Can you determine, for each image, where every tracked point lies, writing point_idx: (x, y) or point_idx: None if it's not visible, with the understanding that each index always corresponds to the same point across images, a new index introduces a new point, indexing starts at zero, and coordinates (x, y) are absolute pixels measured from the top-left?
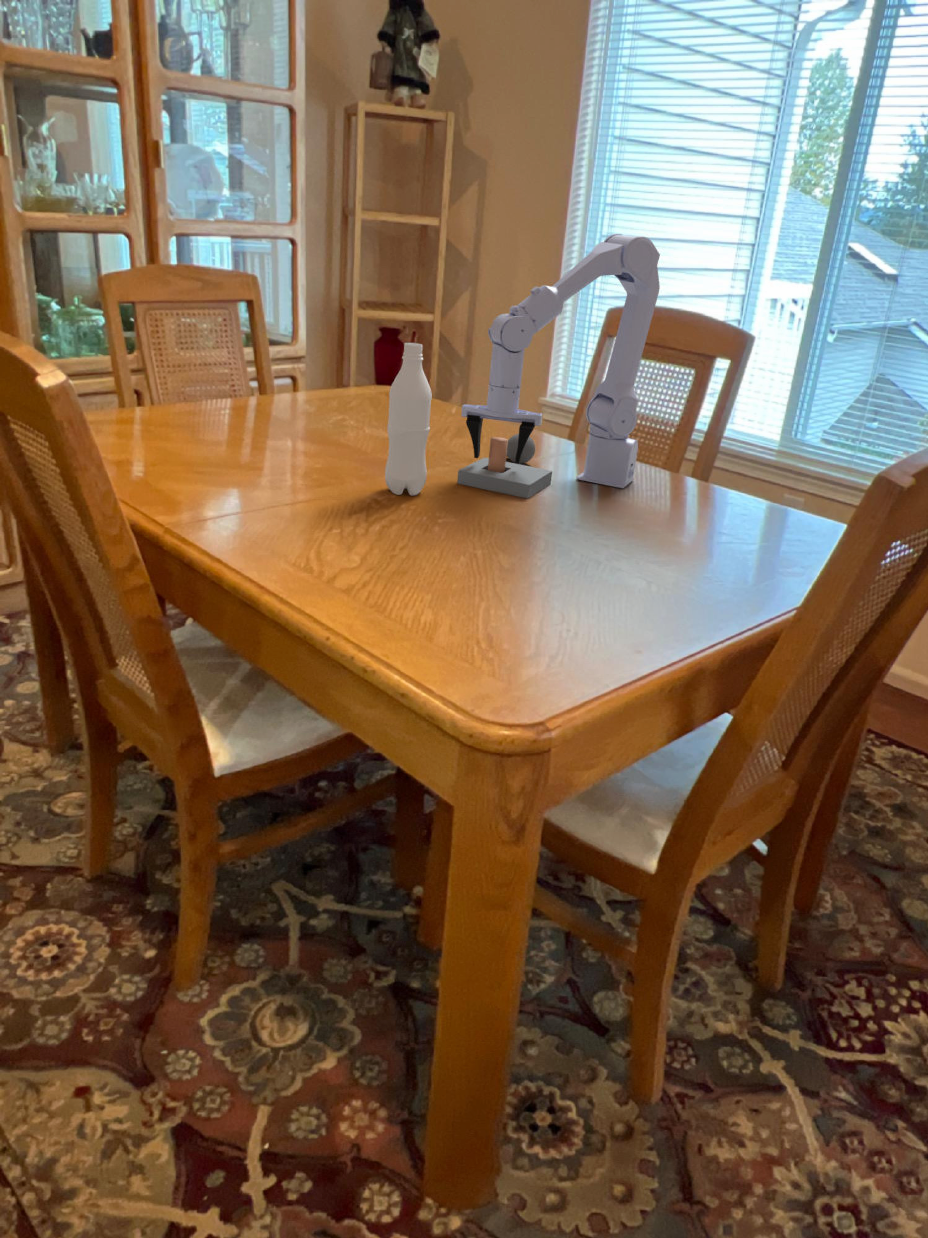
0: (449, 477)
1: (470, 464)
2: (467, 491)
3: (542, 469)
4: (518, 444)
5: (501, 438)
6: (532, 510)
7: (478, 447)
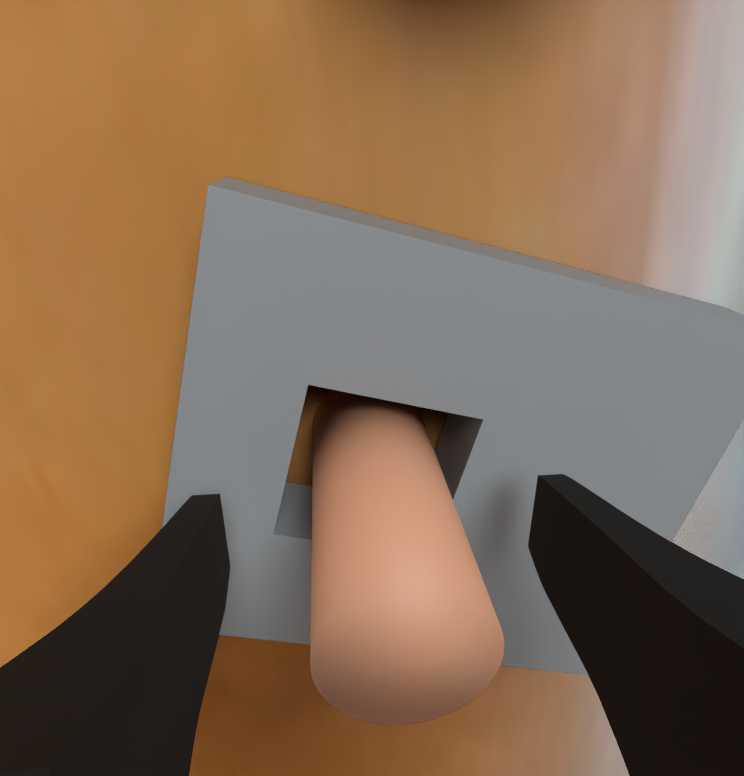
0: (79, 479)
1: (172, 472)
2: (264, 648)
3: (720, 331)
4: (608, 708)
5: (427, 620)
6: (574, 727)
7: (209, 626)
